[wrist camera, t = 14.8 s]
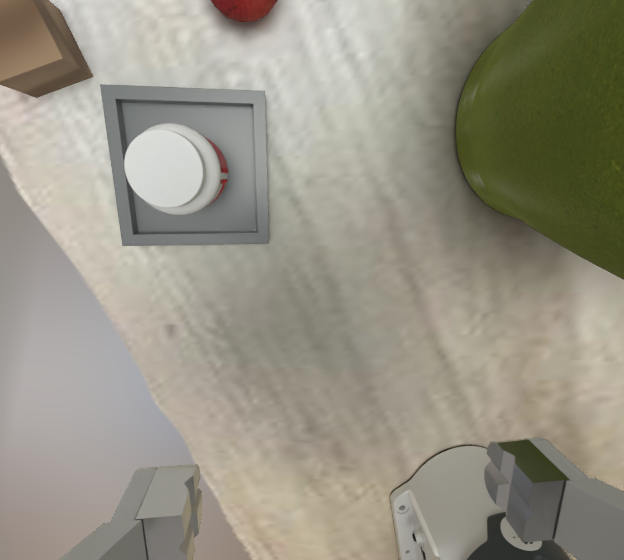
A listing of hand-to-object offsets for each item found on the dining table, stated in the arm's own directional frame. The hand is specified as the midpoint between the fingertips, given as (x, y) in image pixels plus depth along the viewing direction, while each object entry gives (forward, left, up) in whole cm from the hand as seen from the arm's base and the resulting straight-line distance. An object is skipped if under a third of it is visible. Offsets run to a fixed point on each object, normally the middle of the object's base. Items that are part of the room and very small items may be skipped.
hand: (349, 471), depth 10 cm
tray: (+8, +8, -28) cm, 30 cm away
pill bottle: (+8, +8, -28) cm, 30 cm away
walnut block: (+17, +19, -28) cm, 38 cm away
